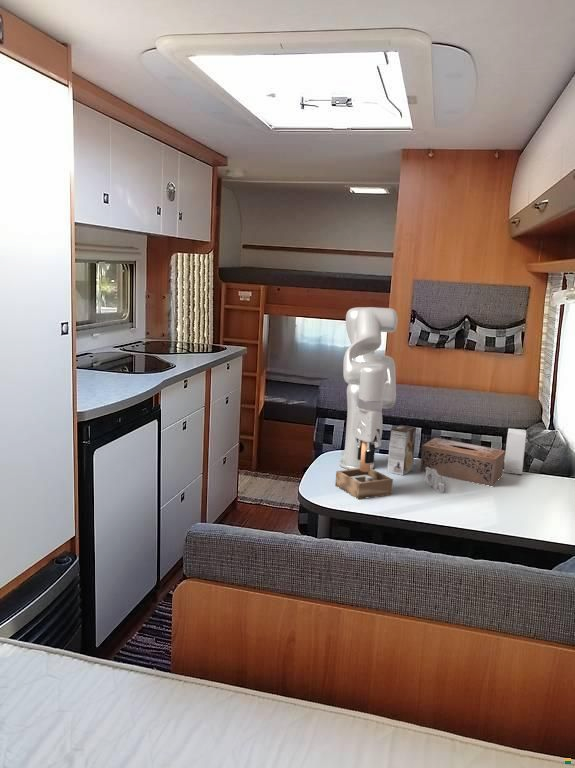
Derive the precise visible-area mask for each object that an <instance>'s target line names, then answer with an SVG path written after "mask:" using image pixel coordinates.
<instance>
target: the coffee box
mask: <svg viewBox="0 0 575 768" xmlns="http://www.w3.org/2000/svg"><path fill="white" fill-rule="evenodd" d="M416 432H417V427H415V426H411V425H405V424H399V425H397V426H394V427H392V428H390V436H389V447H388V457H387V458H388V459H387V472H388V473H391V474H395V475H398V476H399V475H400V476H405V475H406V474H408V473H409V472H410V471H412V470H413V466H414V457H415V455H414V453H415V446H416V445H415V444H416Z"/></svg>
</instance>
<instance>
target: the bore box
mask: <svg viewBox="0 0 575 768" xmlns="http://www.w3.org/2000/svg"><path fill="white" fill-rule="evenodd" d="M393 481H394V478H391V477H389V476H387V475H386V474H384V473H381V472H379V471H377V470H375V469H371V468H370V471H369V472H363V471H360V468H359V469H351V470H350V469H345V470H343V469H342V470H336V472H335V483H334V484H335V487H337V488H338V487H339V488H338V489H340V490H342V491H343V490H344V492H345V491H346V492H345V493H346V494H348V493H349V494H348V495H350V494H351V495H350V496H352V497H353V496H354V498H355V497H356V498H355V499H357V498H358V499H357V500H361V499H360V498H363V499H367V498H366V497H370V498H376V497H375V496H377V497H382V495H384V496H388V495H389V496H390V494H391V495H392V493H393V483H394V482H393Z"/></svg>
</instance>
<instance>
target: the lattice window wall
mask: <svg viewBox="0 0 575 768" xmlns="http://www.w3.org/2000/svg"><path fill="white" fill-rule="evenodd" d="M425 469H426V472H425V478H424V482H425V483H426V484H427V485H428V486H429V485H430V486H429V487H432V488H433V489H434V490H436V492H438V493H440V494H442V493H443V494H444V492H445V484H444V483H442V482H441V478H442V476H440V475H439V474H438V473H437V471H436V470H435V469H430V468H429V467H426V468H425Z"/></svg>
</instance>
